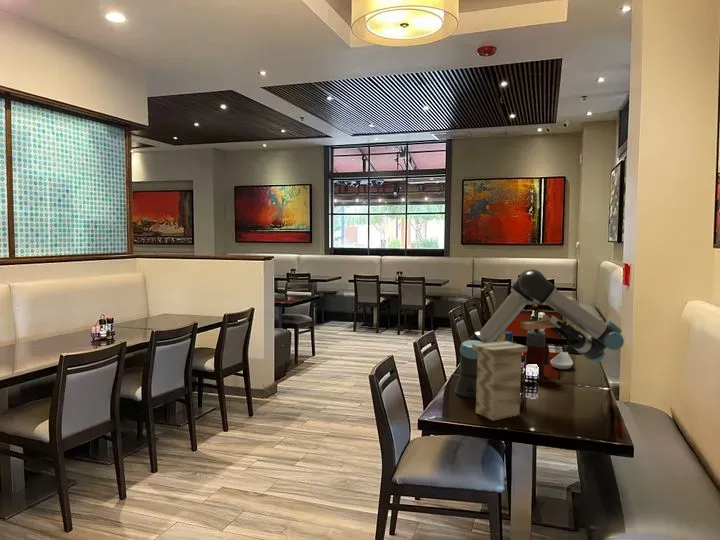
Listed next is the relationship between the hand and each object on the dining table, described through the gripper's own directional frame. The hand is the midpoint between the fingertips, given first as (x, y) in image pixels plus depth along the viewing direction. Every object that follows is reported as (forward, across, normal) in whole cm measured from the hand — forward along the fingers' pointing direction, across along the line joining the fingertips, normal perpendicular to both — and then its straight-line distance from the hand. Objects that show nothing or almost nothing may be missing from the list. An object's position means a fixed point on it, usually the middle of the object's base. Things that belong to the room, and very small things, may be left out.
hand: (547, 317), depth 218 cm
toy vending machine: (-47, +34, -16) cm, 61 cm away
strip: (0, 0, -4) cm, 5 cm away
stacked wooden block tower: (+4, 0, -46) cm, 46 cm away
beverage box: (-37, +48, -22) cm, 65 cm away
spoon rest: (-75, +45, -1) cm, 88 cm away
